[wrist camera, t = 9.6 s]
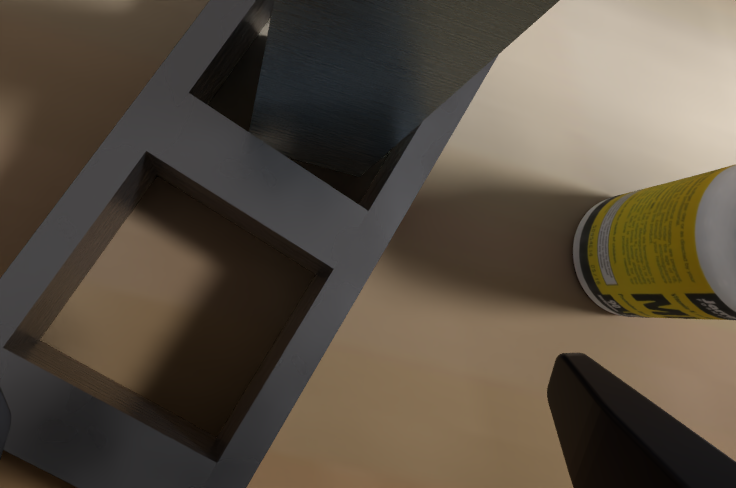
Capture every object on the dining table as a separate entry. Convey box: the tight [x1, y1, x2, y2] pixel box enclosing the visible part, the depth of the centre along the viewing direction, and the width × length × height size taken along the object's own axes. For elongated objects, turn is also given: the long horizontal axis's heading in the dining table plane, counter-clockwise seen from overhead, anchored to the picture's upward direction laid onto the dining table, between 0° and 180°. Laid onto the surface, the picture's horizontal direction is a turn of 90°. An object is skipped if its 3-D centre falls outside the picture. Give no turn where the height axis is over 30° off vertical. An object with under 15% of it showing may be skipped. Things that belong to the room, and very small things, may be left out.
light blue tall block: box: [249, 0, 559, 177], centre depth 14 cm, size 4×4×12 cm
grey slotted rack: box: [0, 0, 498, 488], centre depth 16 cm, size 26×8×3 cm, turn 150°
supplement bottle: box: [573, 165, 736, 320], centre depth 18 cm, size 5×5×8 cm
